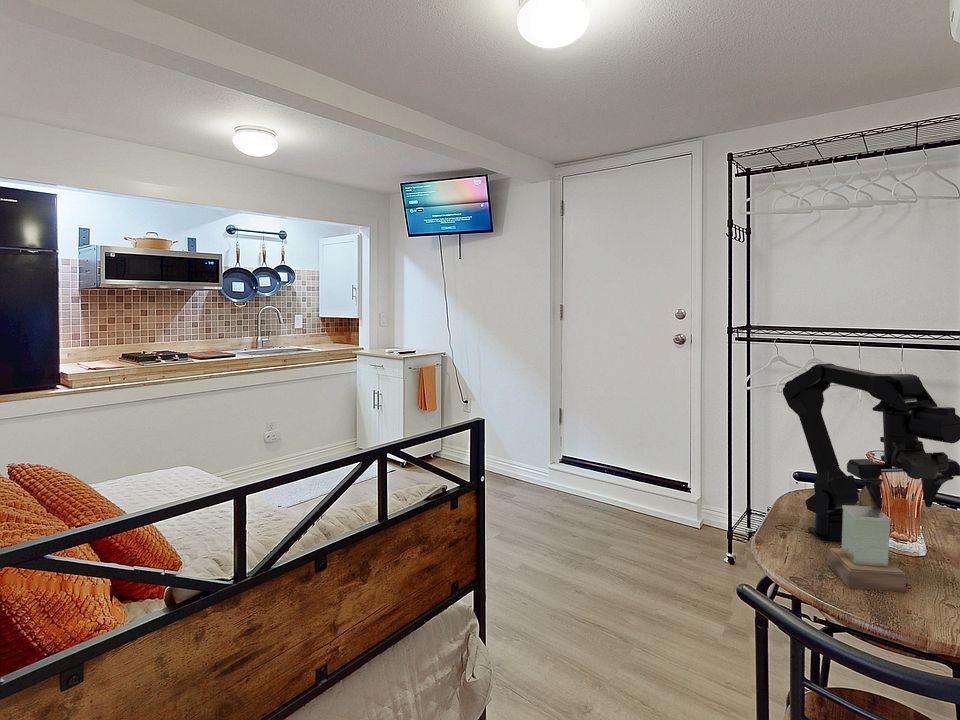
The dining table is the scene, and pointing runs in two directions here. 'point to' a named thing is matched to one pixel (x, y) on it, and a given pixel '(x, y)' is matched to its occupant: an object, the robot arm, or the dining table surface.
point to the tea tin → (865, 535)
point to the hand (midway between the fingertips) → (903, 507)
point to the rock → (866, 498)
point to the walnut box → (866, 573)
